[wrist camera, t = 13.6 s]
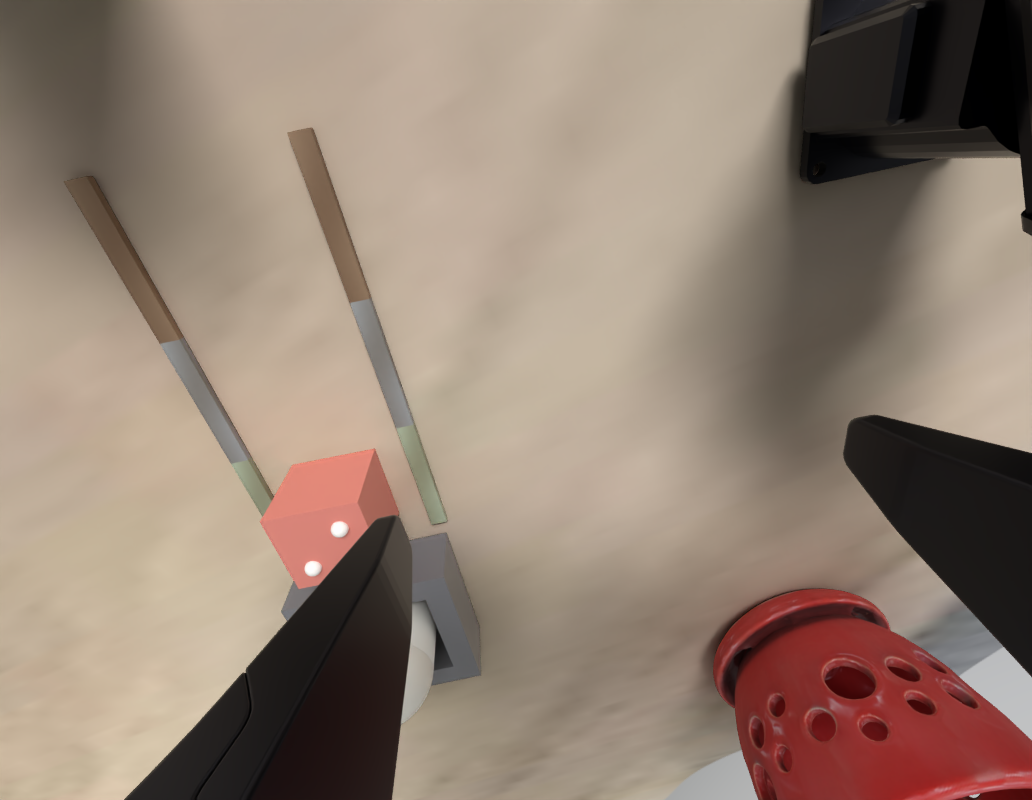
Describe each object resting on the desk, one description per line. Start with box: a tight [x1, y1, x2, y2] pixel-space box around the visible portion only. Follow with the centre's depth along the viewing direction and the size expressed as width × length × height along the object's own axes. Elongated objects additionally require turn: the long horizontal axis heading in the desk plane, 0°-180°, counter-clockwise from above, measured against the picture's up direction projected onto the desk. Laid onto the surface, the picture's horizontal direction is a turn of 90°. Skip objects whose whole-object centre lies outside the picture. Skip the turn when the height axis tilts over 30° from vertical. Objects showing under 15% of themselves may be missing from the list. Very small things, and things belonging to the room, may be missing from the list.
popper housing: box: [281, 533, 481, 686], centre depth 25 cm, size 8×8×3 cm
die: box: [260, 449, 399, 589], centre depth 21 cm, size 4×4×4 cm
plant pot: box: [713, 589, 1032, 800], centre depth 26 cm, size 13×13×12 cm
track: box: [64, 128, 447, 525], centre depth 20 cm, size 9×18×1 cm, turn 11°
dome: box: [401, 600, 437, 724], centre depth 24 cm, size 5×5×6 cm
